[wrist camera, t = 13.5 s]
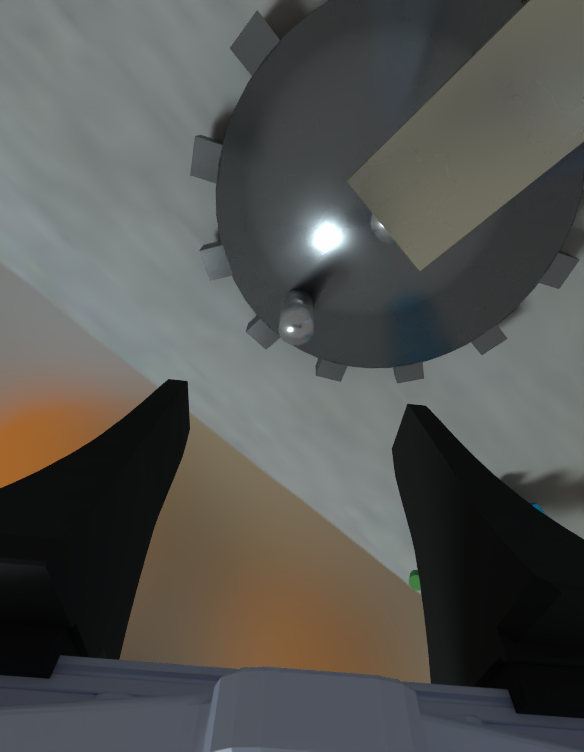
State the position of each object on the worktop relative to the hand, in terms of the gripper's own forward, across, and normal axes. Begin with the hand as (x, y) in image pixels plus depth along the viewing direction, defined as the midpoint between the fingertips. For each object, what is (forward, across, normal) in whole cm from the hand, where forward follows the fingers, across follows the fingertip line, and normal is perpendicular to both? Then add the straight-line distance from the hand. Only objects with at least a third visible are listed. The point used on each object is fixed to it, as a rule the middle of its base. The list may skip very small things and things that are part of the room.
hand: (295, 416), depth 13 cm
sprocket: (+10, -4, -5) cm, 12 cm away
